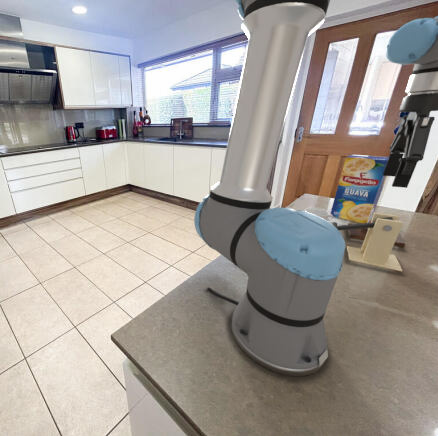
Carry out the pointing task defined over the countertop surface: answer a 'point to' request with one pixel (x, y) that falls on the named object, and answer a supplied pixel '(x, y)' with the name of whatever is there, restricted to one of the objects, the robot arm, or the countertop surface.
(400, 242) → the control block
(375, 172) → the beverage box
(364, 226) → the lever
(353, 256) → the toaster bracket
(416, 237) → the countertop surface
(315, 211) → the teacup
